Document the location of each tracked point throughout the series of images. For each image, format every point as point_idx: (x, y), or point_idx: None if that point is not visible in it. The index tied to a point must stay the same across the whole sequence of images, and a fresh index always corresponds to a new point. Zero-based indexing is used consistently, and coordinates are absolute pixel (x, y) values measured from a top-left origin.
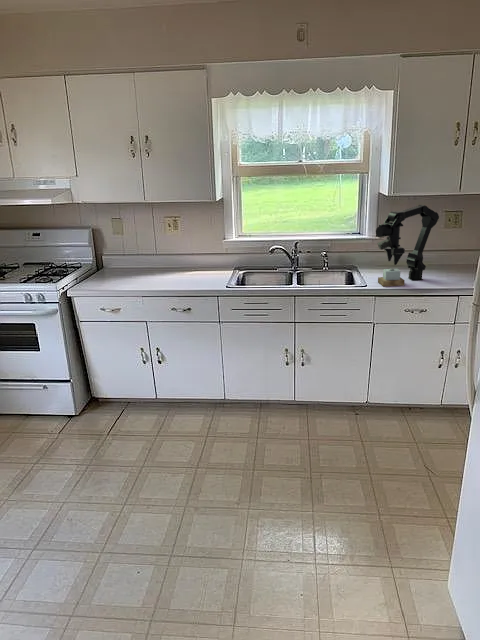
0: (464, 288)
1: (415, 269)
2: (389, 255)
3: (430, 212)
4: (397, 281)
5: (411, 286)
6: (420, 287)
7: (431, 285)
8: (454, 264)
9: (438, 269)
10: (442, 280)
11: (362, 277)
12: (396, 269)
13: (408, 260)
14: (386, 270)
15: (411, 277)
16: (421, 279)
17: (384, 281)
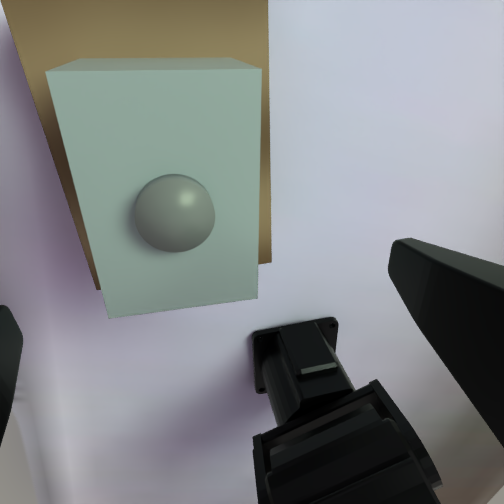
0: None
1: (290, 423)
2: (496, 342)
3: None
4: (75, 212)
5: (85, 307)
6: (57, 360)
7: (122, 419)
8: (478, 493)
9: (442, 452)
10: (237, 463)
11: None
12: (211, 281)
13: (375, 463)
14: (154, 108)
15: (281, 344)
16: (258, 386)
17: (7, 18)
